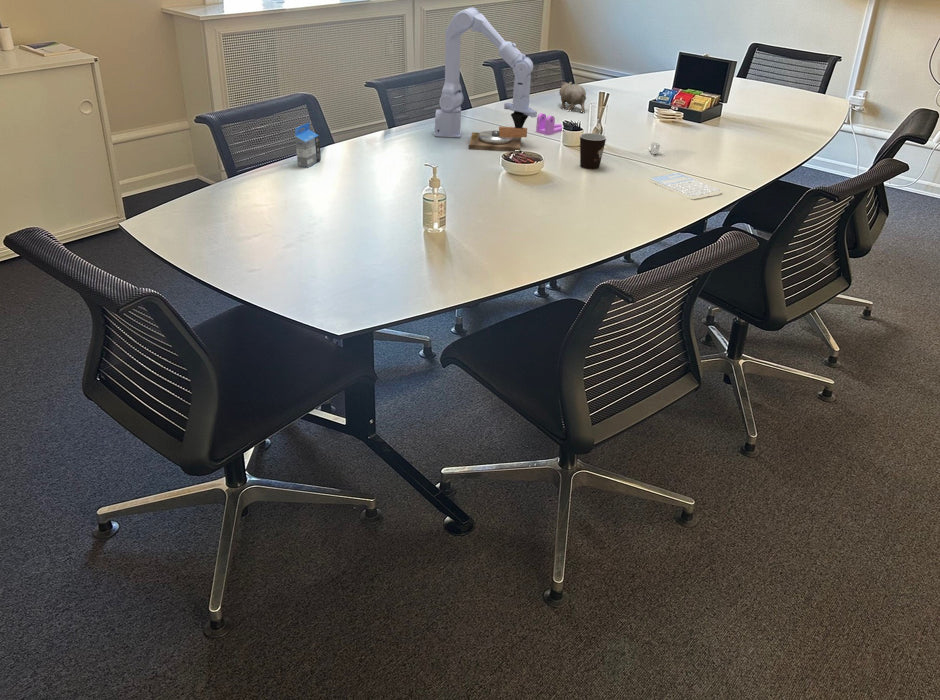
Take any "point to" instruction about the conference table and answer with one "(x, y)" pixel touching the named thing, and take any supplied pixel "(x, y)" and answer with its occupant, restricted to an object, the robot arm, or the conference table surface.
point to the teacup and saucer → (654, 148)
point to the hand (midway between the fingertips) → (518, 133)
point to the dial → (502, 135)
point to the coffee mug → (591, 150)
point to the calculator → (684, 184)
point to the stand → (480, 145)
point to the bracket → (547, 125)
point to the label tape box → (307, 146)
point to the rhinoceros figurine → (572, 95)
